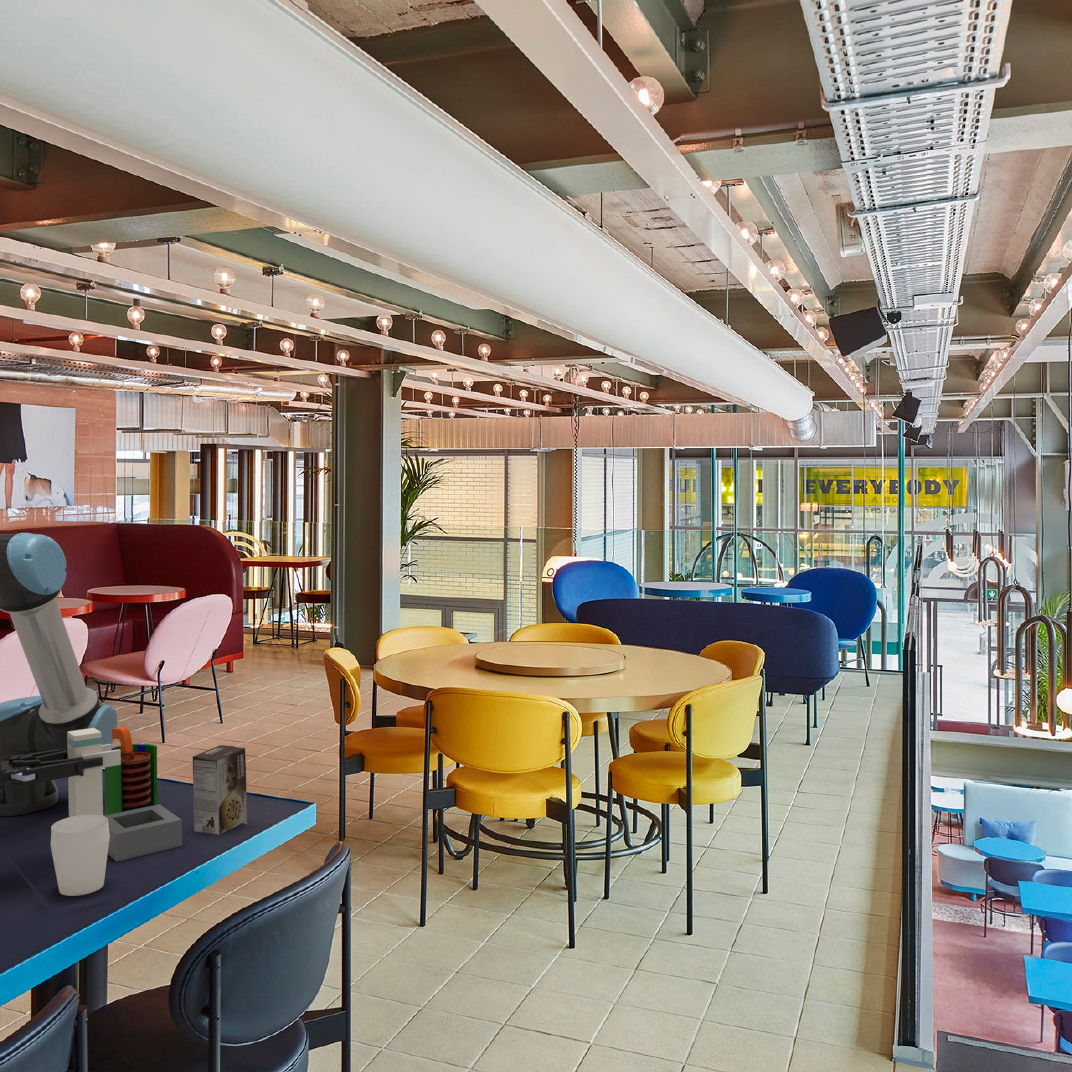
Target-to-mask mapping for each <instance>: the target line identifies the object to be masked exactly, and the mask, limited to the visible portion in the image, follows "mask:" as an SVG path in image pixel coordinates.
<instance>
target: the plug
mask: <svg viewBox="0 0 1072 1072" xmlns="http://www.w3.org/2000/svg"><path fill="white" fill-rule="evenodd" d="M67 744H68V759H71V758H78V757H82V755H87V754H93V753H100V752H102V737H101V732H100V731H98V730H97V729H95V728H89V729H82V730H75V731H68V732H67ZM67 779H68V780H67V781H68V782H67V784H68V785H67V786H68V787H67V788H68V818H69V817H73V816H79V815H90V814H93V815H102V816H104V805H103V804H104V803H103V801H104V799H103V796H104V795H103V768H98V769H92V770H87V771H84V776H81V777H80V775H79V776H72V777H67Z"/></svg>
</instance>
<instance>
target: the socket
mask: <svg viewBox="0 0 1072 1072" xmlns="http://www.w3.org/2000/svg"><path fill="white" fill-rule="evenodd" d="M104 816H105V815H104ZM105 817H107V818H108V826H109V835H110V837H109V846H108V854H107V856H109V857H110V858H111V859H113V861H115V862H121V861H127V860H129V859H134V858H138V857H142V856H143V857H144V856H146V855H151V854H155V853H159V852H163V851H167V850H170V849H175V848H180V847H183V825H182V824H183V822H182V821H183V820H182V818H181V817H179V816H177V815H176V814H174V813H173V812H171V811H170V810H169V809H167V808H165V807H164V806H163V805H161V804H160V803H159V804H158V803H157V805H153V806H149V807H144V808H139V809H134V810H130V811H125V812H120V813H115V814H111V815H106V816H105Z"/></svg>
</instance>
